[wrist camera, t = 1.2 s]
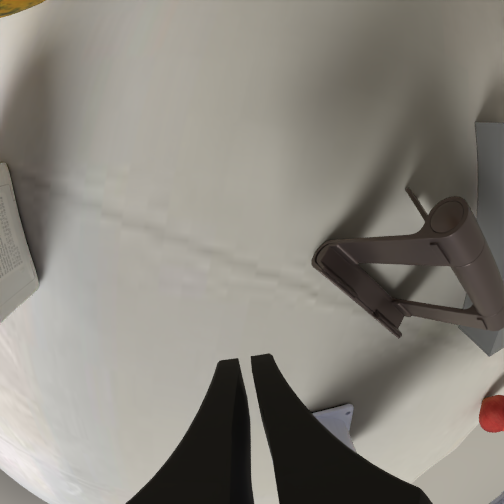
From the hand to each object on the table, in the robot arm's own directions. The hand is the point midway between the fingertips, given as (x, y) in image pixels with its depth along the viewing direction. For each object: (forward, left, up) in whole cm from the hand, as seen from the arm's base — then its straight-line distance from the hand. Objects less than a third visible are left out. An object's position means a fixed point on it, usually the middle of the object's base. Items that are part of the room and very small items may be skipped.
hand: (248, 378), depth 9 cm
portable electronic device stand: (0, -10, -9) cm, 13 cm away
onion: (-28, -33, -9) cm, 44 cm away
